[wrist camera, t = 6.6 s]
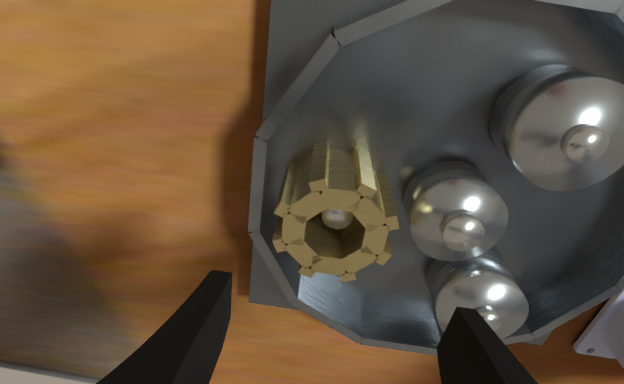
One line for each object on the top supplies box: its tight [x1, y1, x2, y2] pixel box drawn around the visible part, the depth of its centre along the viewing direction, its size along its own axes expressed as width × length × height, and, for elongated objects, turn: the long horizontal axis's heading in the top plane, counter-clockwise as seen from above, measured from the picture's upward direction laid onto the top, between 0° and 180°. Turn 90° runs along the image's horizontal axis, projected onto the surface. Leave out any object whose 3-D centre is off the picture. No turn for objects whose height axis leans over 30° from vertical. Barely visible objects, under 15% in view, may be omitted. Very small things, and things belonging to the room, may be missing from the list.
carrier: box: [248, 0, 624, 355], centre depth 18 cm, size 20×20×5 cm
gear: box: [272, 141, 399, 282], centre depth 18 cm, size 5×5×4 cm
